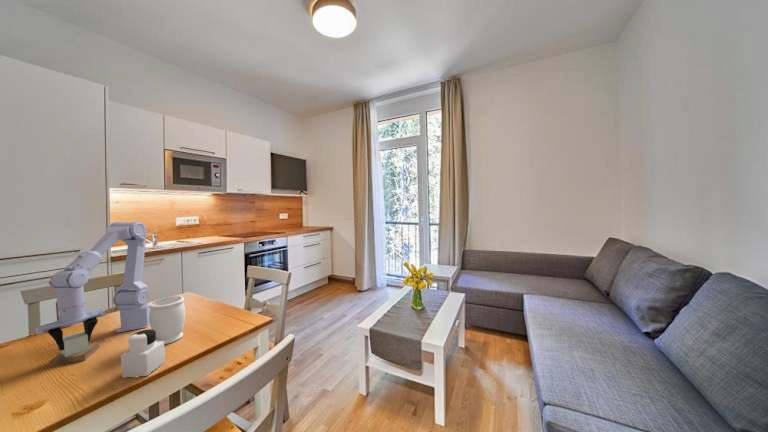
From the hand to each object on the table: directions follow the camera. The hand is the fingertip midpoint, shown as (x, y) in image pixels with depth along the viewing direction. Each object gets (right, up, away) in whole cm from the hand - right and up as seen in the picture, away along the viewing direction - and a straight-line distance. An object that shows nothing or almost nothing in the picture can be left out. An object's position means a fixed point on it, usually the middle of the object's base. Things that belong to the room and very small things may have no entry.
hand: (74, 345), depth 85 cm
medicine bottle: (+30, -5, -6) cm, 31 cm away
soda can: (-30, -3, +22) cm, 38 cm away
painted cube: (0, -2, 0) cm, 2 cm away
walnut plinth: (0, -4, 0) cm, 4 cm away
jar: (+23, -4, +11) cm, 25 cm away
